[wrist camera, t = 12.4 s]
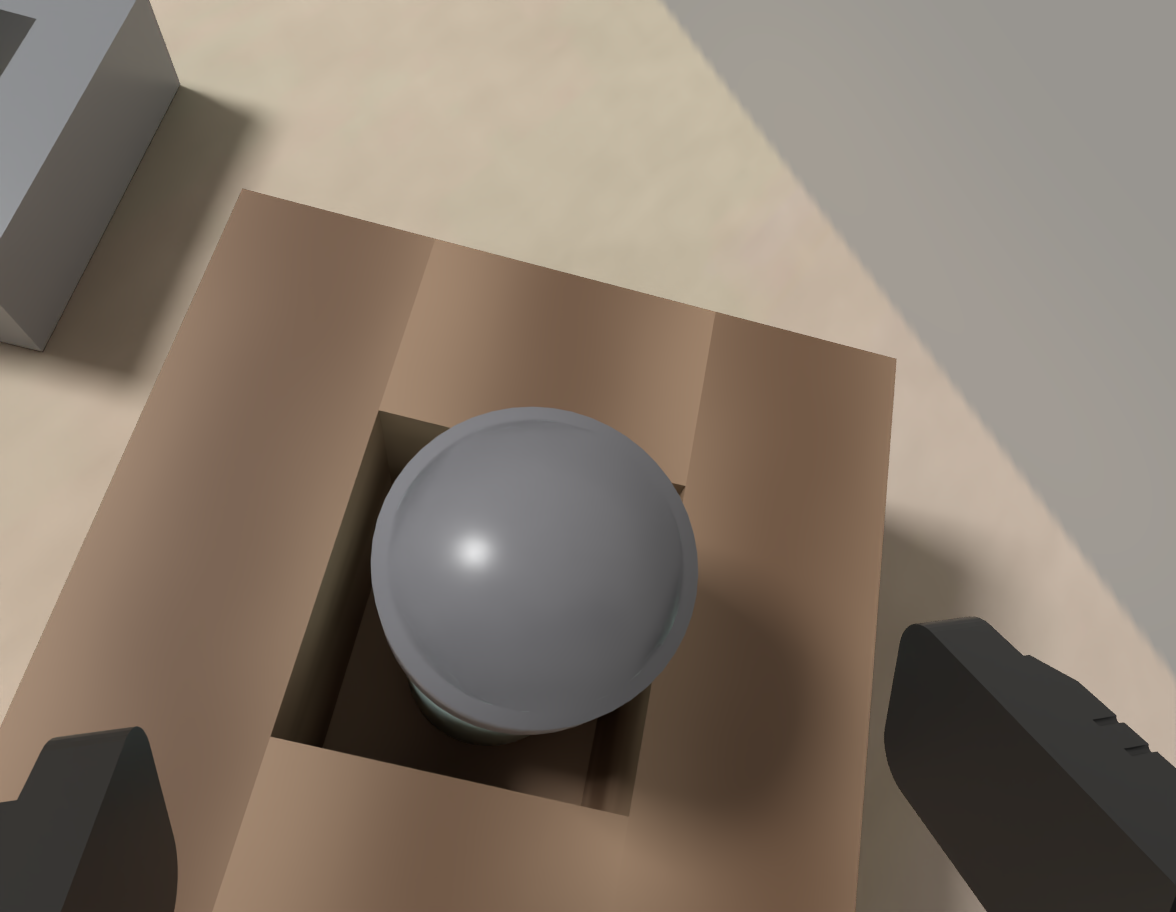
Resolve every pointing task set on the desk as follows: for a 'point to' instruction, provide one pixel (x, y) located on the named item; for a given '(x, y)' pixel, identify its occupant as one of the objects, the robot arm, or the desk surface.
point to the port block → (352, 624)
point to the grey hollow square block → (69, 142)
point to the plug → (531, 573)
